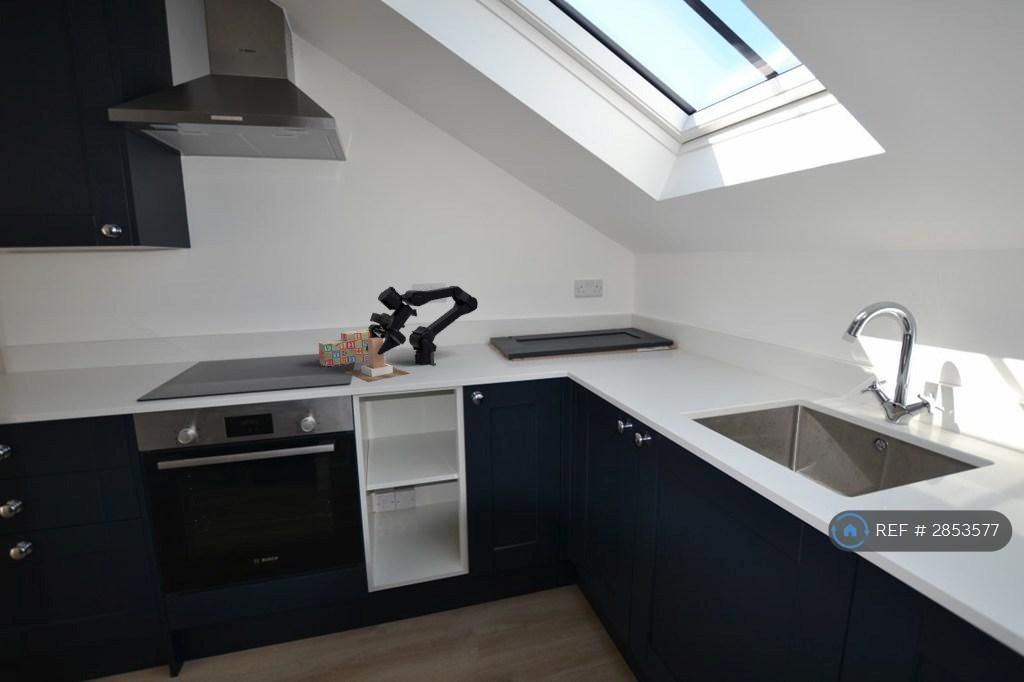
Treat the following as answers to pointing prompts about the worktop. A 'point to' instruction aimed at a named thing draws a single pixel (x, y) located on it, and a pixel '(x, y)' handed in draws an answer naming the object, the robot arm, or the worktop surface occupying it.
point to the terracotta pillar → (375, 353)
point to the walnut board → (368, 378)
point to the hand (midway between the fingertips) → (372, 352)
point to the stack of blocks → (345, 348)
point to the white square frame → (377, 370)
